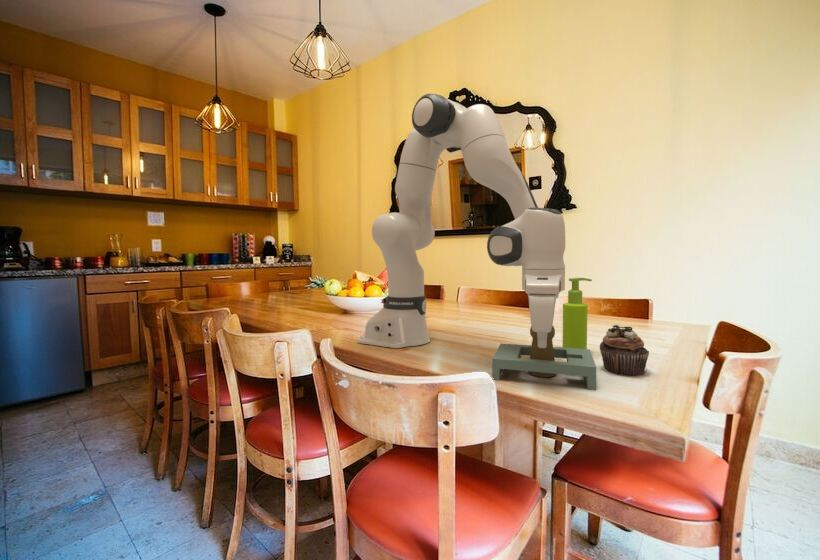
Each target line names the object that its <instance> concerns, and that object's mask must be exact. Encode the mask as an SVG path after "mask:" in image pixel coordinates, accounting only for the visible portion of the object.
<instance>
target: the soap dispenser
mask: <svg viewBox="0 0 820 560" xmlns="http://www.w3.org/2000/svg"><path fill="white" fill-rule="evenodd" d="M568 281H569V282H571V289H569V290H568V294H567V295H568V296H567V302H564V303H562V348H577V349H588V304H586V303H584V302H583V290H581V289H580V281H582V282H583V281H586V282H592V281H593V279H590V278H586V277H572V278H570V277H569V278H568Z"/></svg>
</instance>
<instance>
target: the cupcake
mask: <svg viewBox="0 0 820 560" xmlns="http://www.w3.org/2000/svg"><path fill="white" fill-rule="evenodd" d="M605 332H606V333H605V335H604V337H603V338H602V341H601V342H600V344H599V352H600V355H601V358H602V363H603V368H604V370H605V371H606V372H608V373H611V374H614V375H619V376H627V377H631V376H632V377H637V376H638V377H639V376H642V375H643V374H644V373H645V371H646V366H647V361H648V358H649V355H650V351H649V350H648V349H647V348H645V342H644V341H643V339H642V338H641V337H640V336H638V333H636V331H634V330H633V327H631V326H619V325H618V324H614V325H612V327H611V328H608V329H607V330H606V331H605Z"/></svg>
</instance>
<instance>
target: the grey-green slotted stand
mask: <svg viewBox="0 0 820 560" xmlns="http://www.w3.org/2000/svg"><path fill="white" fill-rule="evenodd" d="M531 346H532V344H530V345H529V344H516V343H515V344H514V343H501V342H500V343H499V345H498V347H497V349H496V351H495V353H494V354H493V357H492V358H491V361H492V362H491V363H492V365H491V366H492V367H491V368H492V369H491V373H492V376H491V377H493V378H494V379H493V380H494V381H495V380H496V381H500V379H501V377H502V375H501V374H503V372H504V370H510V371H511V370H512V371H525V372H528V371H532V372H543V373H554V374H556V375H567V376H577V377H584V380H585V384H586V388H587V390H593V391H595V390H596V391H597V365H596V362H595V360H594V358H593V355H592V353H591V352H592V351H591V350H590V349H588V348H587V349H577V348H562V347H563V346H562V347H560V346H559V347H558V346H553V350H554V358H555V359H566V361H558V360H557V361H556V360H555V361H547V360H534V359H530V358H521V356H528V357H530V353H531ZM503 369H504V370H503Z"/></svg>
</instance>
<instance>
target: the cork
mask: <svg viewBox="0 0 820 560" xmlns="http://www.w3.org/2000/svg"><path fill="white" fill-rule="evenodd" d="M529 334H530V337H531V338H532V341H531V345H532V346H531V353H530V356H529V359H534V360H547V361H556V358H554V350H553V347H554V345H553V343H554V342H553V339H554V337H555V335H556V330H555V327H554V325H552V330H551V332H549V333H547V347H546V348H539V347H538V338H537V332H534V331H533V330H532V326H530V329H529ZM527 373H528V374H530V375H533V376H535V377H542V378H550V377H555V376H556V375H557V374H554V373H543V372H532V371H527Z"/></svg>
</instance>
